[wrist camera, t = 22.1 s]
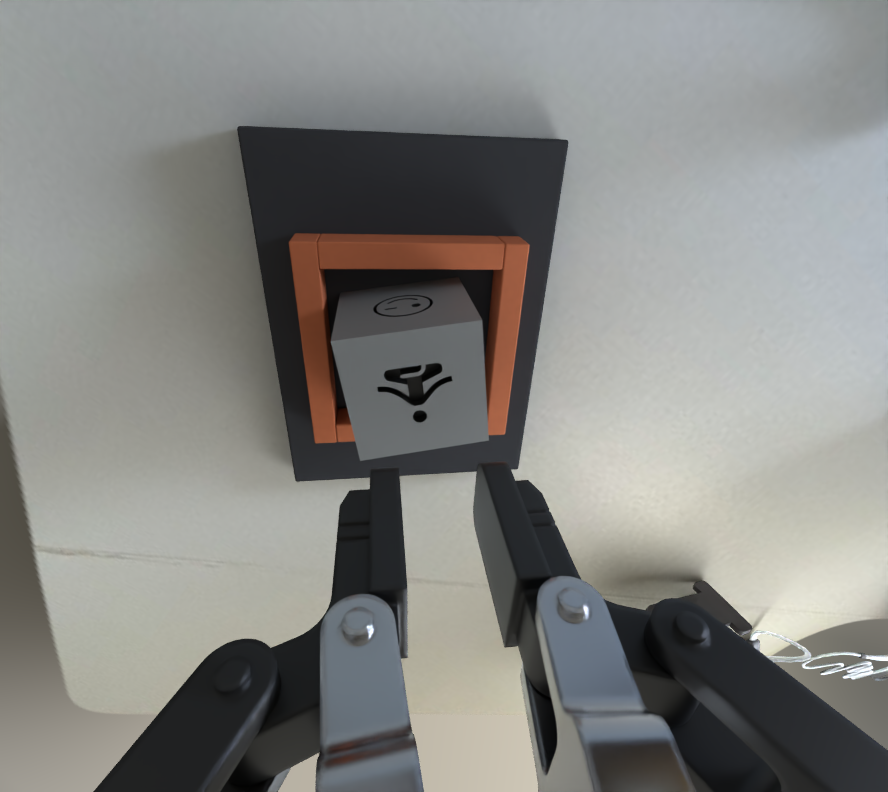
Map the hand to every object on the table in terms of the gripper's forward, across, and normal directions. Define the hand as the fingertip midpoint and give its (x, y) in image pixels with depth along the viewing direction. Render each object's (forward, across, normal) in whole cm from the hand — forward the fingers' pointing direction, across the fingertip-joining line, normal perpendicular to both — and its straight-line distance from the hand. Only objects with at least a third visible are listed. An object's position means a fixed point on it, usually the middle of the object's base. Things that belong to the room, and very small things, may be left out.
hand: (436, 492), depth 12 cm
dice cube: (+10, 0, 0) cm, 10 cm away
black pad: (+11, 0, 0) cm, 11 cm away
